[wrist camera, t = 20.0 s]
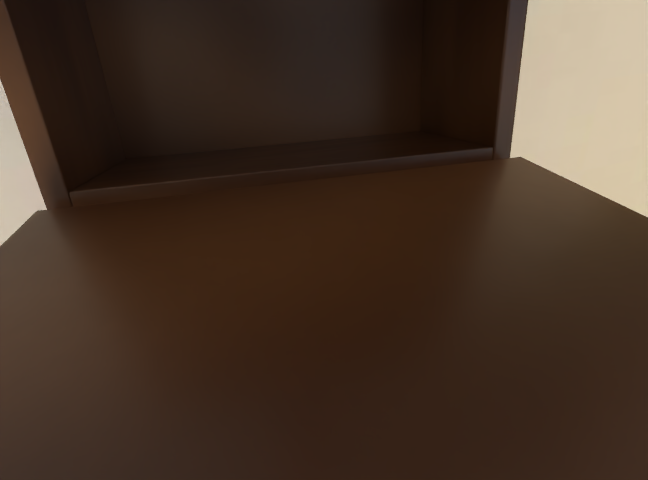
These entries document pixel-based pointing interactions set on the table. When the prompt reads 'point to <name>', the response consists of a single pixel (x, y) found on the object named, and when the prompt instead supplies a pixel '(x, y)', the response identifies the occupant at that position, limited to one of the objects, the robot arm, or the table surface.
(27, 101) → the chest
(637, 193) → the table surface
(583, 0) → the table surface
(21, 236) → the lid
